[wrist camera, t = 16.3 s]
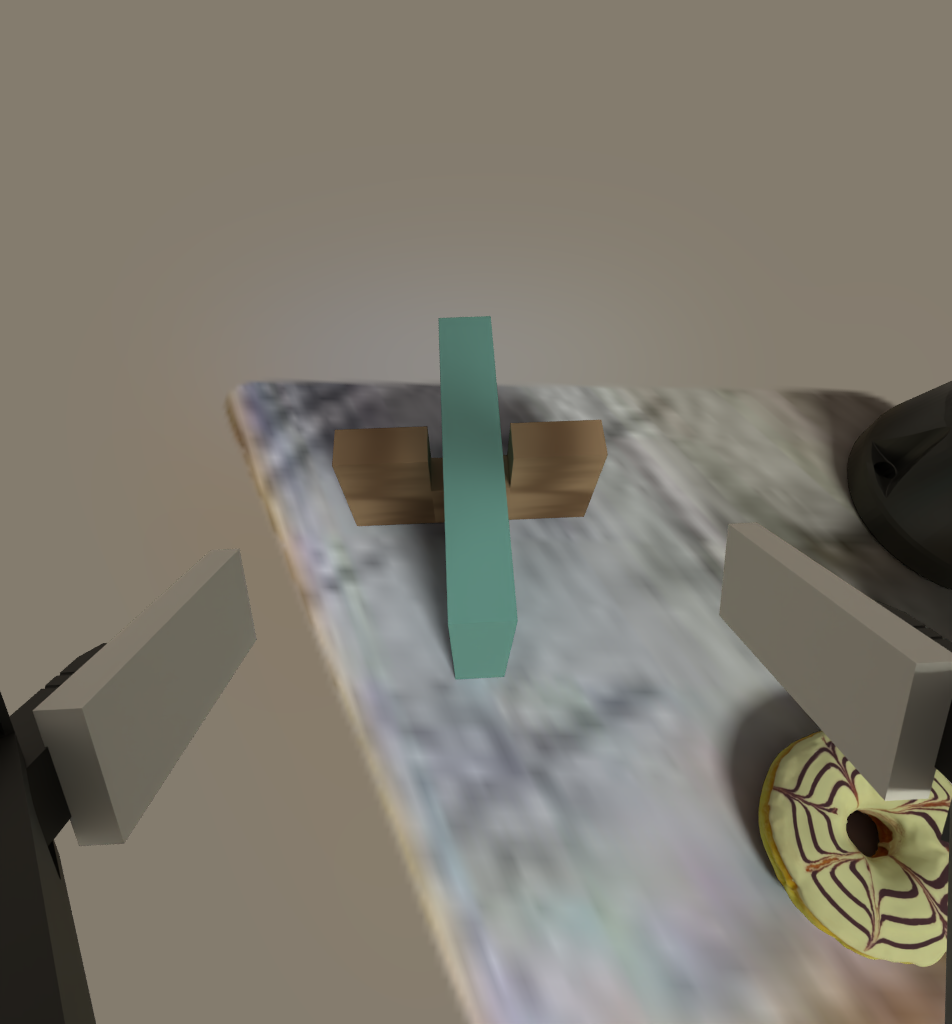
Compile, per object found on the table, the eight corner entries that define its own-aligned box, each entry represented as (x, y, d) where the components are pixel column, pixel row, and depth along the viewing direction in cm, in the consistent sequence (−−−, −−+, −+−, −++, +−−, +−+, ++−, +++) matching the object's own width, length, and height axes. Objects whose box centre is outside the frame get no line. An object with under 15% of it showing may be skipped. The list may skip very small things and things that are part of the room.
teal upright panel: (504, 676, 35) (517, 620, 24) (455, 679, 35) (447, 624, 24) (486, 436, 43) (490, 316, 33) (447, 438, 43) (438, 318, 33)
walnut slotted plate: (579, 486, 41) (601, 419, 34) (583, 516, 40) (607, 454, 33) (358, 494, 41) (335, 429, 34) (357, 526, 40) (332, 465, 33)
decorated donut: (990, 898, 30) (1056, 910, 27) (822, 988, 28) (870, 1014, 25) (865, 706, 35) (907, 696, 31) (712, 774, 33) (740, 771, 29)
